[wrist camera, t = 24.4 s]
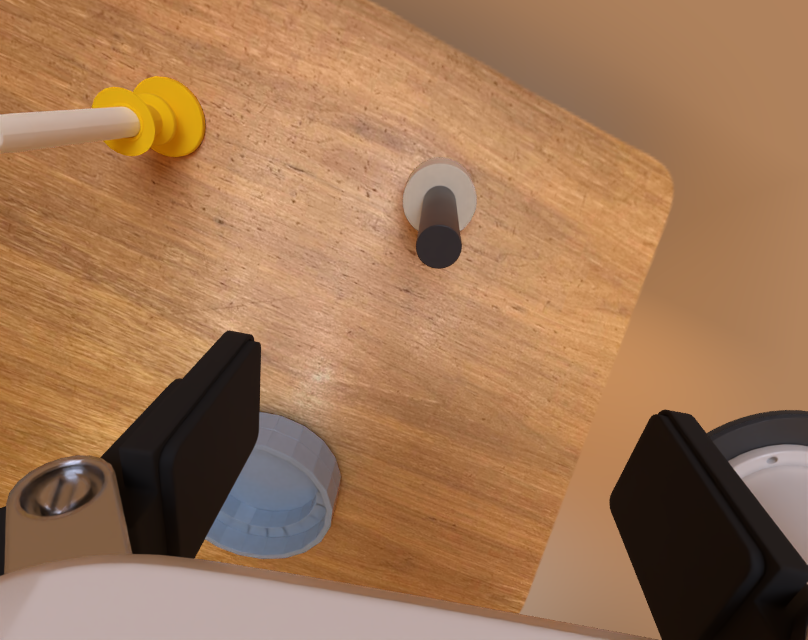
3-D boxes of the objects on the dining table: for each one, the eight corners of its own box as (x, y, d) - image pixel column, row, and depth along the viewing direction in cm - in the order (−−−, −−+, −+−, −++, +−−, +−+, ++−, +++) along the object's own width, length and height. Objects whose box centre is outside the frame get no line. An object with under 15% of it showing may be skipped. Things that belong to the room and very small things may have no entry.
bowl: (349, 421, 44) (339, 458, 39) (335, 528, 51) (324, 570, 46) (192, 393, 44) (164, 428, 39) (199, 504, 51) (176, 544, 46)
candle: (155, 58, 31) (-78, 32, 17) (219, 115, 32) (52, 134, 18) (121, 120, 33) (-112, 142, 19) (183, 171, 34) (7, 226, 20)
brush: (481, 164, 33) (503, 205, 21) (465, 232, 35) (477, 302, 23) (412, 151, 32) (395, 185, 21) (400, 220, 35) (380, 285, 23)
